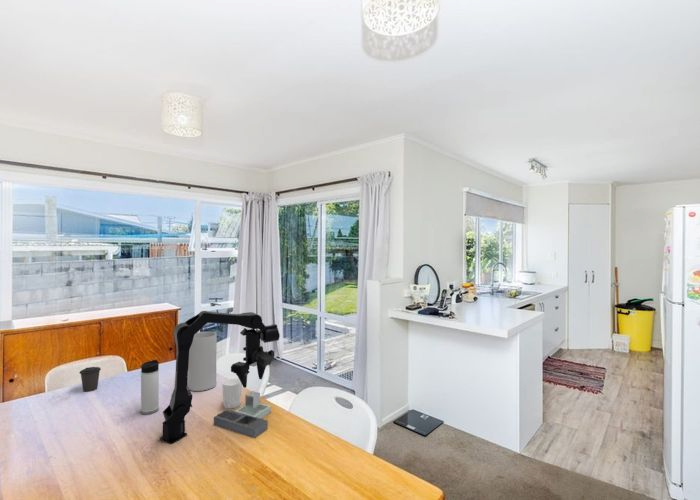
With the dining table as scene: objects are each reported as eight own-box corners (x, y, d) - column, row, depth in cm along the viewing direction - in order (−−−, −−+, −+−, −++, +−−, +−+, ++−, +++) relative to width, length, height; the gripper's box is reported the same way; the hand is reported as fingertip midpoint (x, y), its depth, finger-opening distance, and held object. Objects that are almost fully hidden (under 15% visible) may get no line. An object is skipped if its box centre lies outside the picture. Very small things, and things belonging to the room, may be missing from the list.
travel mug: (162, 407, 144) (162, 360, 144) (152, 415, 138) (152, 365, 137) (148, 406, 145) (148, 359, 144) (137, 414, 138) (137, 364, 138)
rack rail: (254, 438, 122) (254, 429, 122) (213, 424, 130) (213, 416, 130) (267, 428, 128) (267, 420, 128) (227, 416, 137) (227, 409, 137)
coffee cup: (83, 387, 164) (83, 366, 164) (103, 385, 167) (103, 364, 167) (76, 394, 156) (76, 372, 156) (96, 391, 159) (96, 370, 159)
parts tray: (254, 423, 131) (254, 416, 131) (234, 417, 136) (234, 411, 136) (270, 412, 140) (270, 406, 140) (251, 407, 145) (251, 401, 145)
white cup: (238, 409, 143) (238, 385, 143) (219, 409, 143) (219, 385, 143) (244, 400, 151) (244, 378, 151) (226, 400, 151) (226, 378, 151)
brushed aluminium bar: (253, 417, 135) (253, 396, 135) (245, 414, 137) (245, 394, 137) (260, 412, 139) (260, 392, 139) (252, 410, 141) (252, 391, 141)
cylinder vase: (192, 382, 171) (192, 332, 171) (218, 380, 173) (218, 331, 173) (184, 392, 159) (184, 338, 158) (213, 390, 161) (213, 337, 161)
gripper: (252, 353, 126) (252, 396, 126) (283, 341, 143) (283, 378, 143) (229, 349, 131) (229, 390, 131) (262, 338, 148) (262, 374, 148)
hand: (253, 383), depth 138 cm, fingers open, 9 cm apart
